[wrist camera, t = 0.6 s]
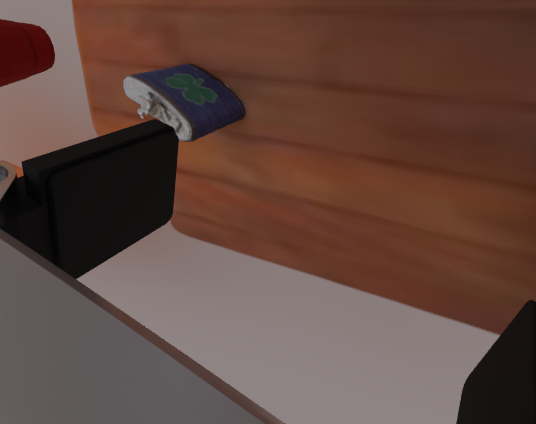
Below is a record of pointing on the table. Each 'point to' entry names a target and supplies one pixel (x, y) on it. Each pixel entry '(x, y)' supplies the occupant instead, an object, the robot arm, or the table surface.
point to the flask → (185, 100)
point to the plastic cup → (23, 51)
